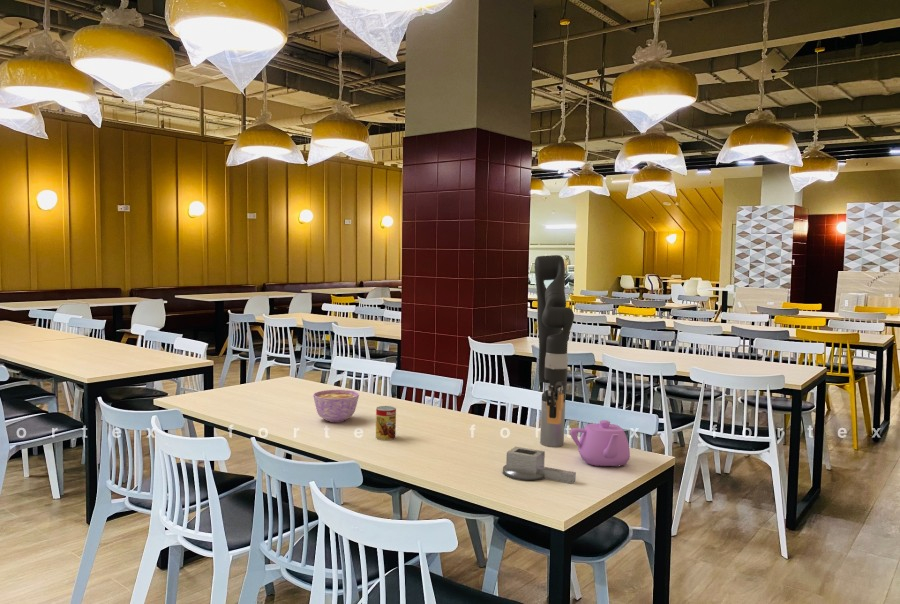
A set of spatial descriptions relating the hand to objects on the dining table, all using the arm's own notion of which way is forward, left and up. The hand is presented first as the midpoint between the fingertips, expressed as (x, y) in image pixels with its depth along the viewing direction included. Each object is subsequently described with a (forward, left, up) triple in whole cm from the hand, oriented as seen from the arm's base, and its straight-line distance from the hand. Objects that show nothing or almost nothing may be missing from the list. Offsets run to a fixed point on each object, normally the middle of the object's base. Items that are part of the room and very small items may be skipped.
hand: (554, 416), depth 217 cm
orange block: (0, 0, -2) cm, 2 cm away
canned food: (-6, -72, -20) cm, 74 cm away
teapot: (-21, +12, -20) cm, 31 cm away
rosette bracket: (+6, -3, -19) cm, 20 cm away
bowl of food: (-18, -106, -20) cm, 109 cm away
